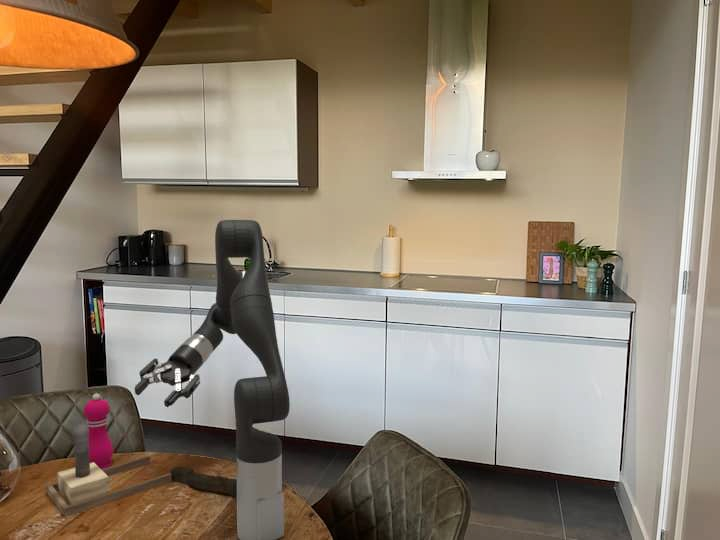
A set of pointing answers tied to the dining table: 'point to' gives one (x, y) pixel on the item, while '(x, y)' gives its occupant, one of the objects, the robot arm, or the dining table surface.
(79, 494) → the joystick
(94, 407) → the pepper mill
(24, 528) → the dining table surface
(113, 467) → the bay
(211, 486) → the hand tool
